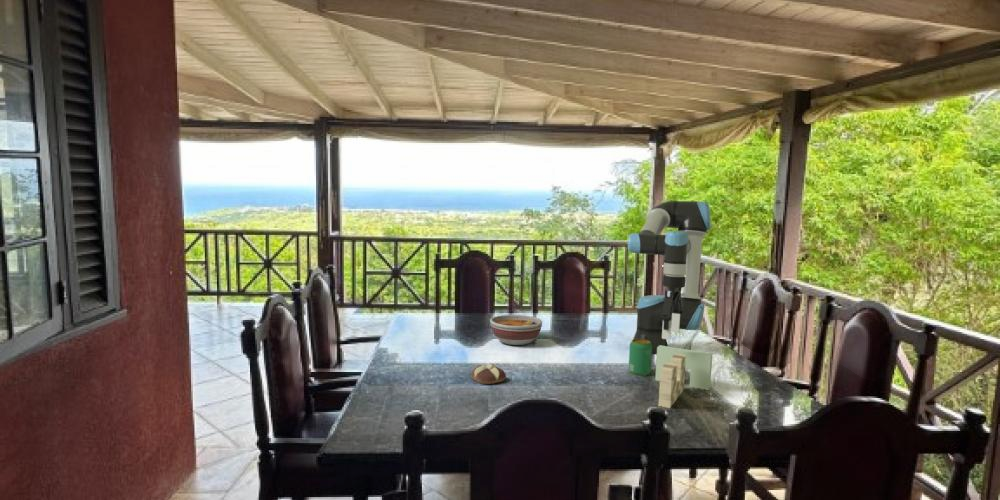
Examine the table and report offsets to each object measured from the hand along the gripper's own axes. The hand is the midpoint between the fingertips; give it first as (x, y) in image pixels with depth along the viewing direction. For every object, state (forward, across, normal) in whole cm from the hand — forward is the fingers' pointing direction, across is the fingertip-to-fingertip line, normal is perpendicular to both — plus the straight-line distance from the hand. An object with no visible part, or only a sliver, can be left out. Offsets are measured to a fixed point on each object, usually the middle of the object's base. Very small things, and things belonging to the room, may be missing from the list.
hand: (670, 335), depth 193 cm
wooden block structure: (+17, +16, +5) cm, 24 cm away
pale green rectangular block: (+17, 0, +5) cm, 18 cm away
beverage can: (+17, -4, -11) cm, 21 cm away
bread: (+18, +35, -53) cm, 66 cm away
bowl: (+17, -14, -69) cm, 73 cm away
